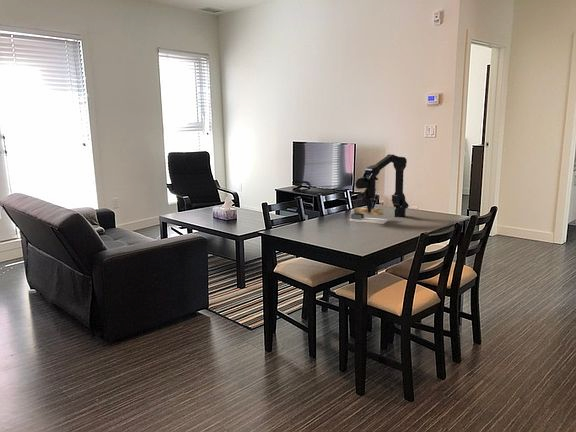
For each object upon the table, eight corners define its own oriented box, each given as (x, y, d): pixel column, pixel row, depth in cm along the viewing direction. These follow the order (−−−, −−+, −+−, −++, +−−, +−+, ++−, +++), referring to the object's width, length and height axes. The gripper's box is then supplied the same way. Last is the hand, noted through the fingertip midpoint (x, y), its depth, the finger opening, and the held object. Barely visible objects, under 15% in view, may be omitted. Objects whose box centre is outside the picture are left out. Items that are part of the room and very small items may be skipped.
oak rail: (383, 214, 292) (383, 209, 291) (381, 215, 289) (381, 210, 288) (356, 212, 301) (356, 207, 300) (354, 213, 297) (354, 208, 297)
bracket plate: (387, 221, 294) (387, 214, 294) (383, 223, 287) (383, 217, 286) (354, 218, 304) (354, 212, 303) (349, 221, 296) (349, 214, 296)
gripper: (363, 185, 302) (362, 208, 306) (353, 188, 286) (353, 213, 289) (379, 185, 297) (379, 209, 301) (371, 189, 281) (370, 215, 284)
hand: (370, 211), depth 294 cm, fingers closed on oak rail, 4 cm apart
